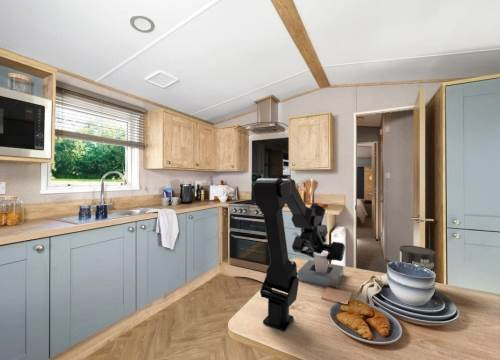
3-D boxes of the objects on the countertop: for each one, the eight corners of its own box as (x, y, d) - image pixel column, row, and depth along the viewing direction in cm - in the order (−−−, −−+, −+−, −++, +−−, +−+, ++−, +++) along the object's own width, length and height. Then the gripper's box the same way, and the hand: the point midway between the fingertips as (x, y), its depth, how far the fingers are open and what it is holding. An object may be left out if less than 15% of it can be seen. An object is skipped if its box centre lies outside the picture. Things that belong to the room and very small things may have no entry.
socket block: (336, 289, 81) (336, 279, 80) (298, 280, 88) (298, 271, 88) (343, 275, 93) (343, 266, 92) (308, 268, 100) (309, 259, 100)
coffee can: (442, 298, 75) (443, 255, 75) (407, 295, 77) (408, 253, 77) (424, 284, 85) (425, 246, 85) (394, 281, 87) (394, 244, 87)
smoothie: (332, 281, 87) (332, 244, 87) (315, 281, 87) (315, 244, 87) (326, 274, 93) (327, 239, 93) (311, 274, 93) (311, 239, 93)
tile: (347, 305, 70) (347, 304, 70) (321, 298, 74) (321, 297, 74) (351, 294, 77) (351, 293, 77) (327, 288, 81) (327, 287, 81)
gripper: (344, 221, 81) (351, 245, 90) (295, 215, 92) (305, 237, 101) (337, 248, 75) (345, 271, 84) (286, 239, 86) (298, 260, 95)
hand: (322, 258), depth 91 cm, fingers closed on smoothie, 6 cm apart
